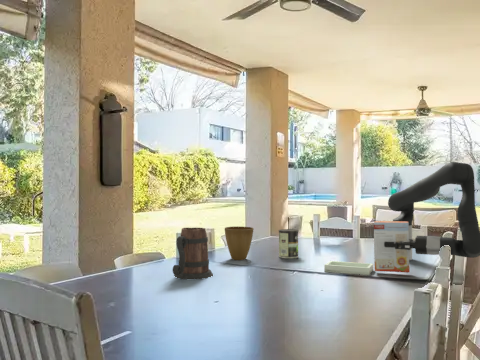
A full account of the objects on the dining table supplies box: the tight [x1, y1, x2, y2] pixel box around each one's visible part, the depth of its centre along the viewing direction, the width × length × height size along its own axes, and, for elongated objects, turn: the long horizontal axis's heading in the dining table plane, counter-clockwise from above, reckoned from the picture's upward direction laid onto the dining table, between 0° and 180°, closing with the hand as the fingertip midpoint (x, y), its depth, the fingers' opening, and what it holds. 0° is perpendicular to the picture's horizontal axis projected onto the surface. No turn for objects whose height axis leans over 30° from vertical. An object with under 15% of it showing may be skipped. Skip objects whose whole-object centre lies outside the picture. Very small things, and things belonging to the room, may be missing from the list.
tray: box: [323, 260, 374, 276], centre depth 202 cm, size 11×19×3 cm, turn 65°
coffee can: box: [278, 228, 299, 259], centre depth 242 cm, size 10×10×14 cm
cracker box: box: [373, 220, 410, 274], centre depth 195 cm, size 14×6×21 cm, turn 71°
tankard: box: [172, 227, 214, 280], centre depth 193 cm, size 24×17×20 cm
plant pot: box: [224, 226, 254, 261], centre depth 236 cm, size 15×15×16 cm
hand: (385, 243), depth 196 cm, fingers closed on cracker box, 6 cm apart
